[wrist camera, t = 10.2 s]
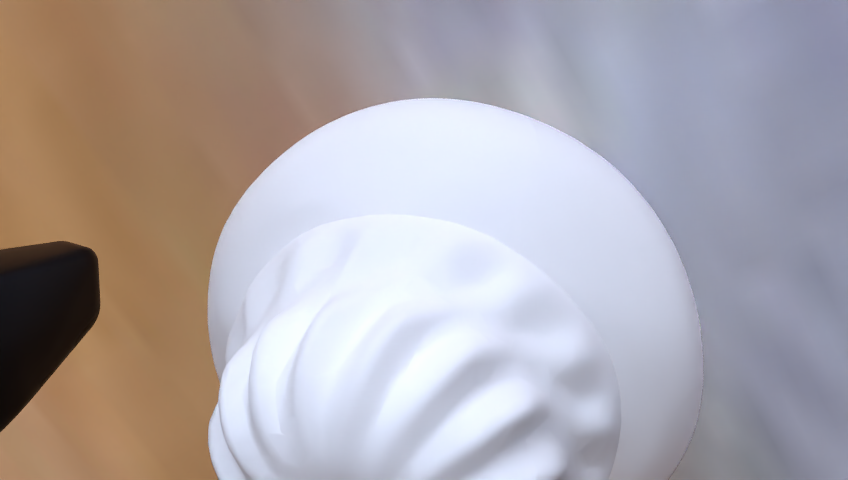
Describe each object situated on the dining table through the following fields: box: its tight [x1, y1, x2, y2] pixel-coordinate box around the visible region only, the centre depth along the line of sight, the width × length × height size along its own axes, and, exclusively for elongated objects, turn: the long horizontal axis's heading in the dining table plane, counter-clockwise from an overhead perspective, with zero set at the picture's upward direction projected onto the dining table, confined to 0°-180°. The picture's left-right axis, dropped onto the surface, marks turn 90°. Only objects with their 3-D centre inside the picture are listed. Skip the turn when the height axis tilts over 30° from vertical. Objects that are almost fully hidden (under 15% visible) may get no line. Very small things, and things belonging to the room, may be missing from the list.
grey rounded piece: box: [208, 98, 704, 480], centre depth 9 cm, size 6×6×7 cm
